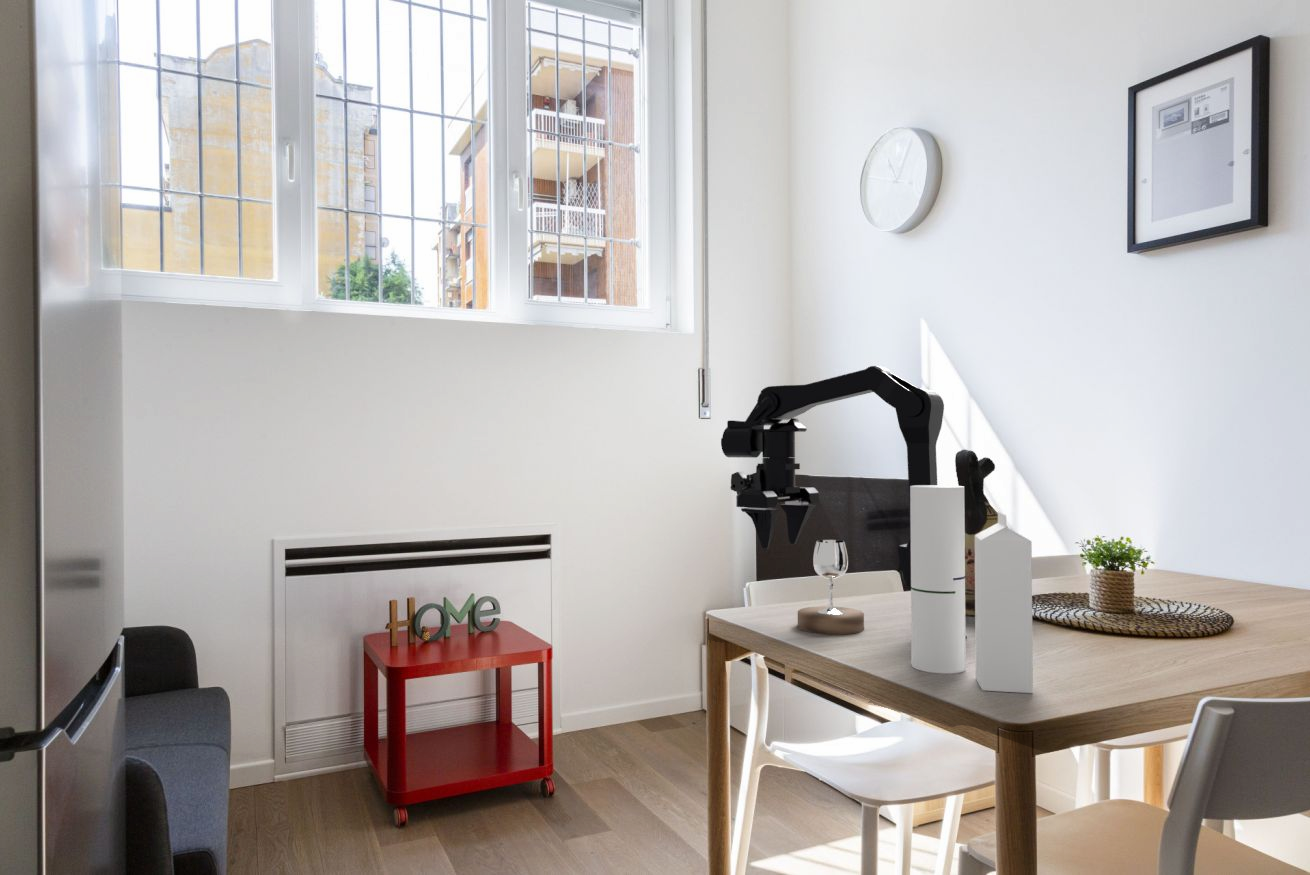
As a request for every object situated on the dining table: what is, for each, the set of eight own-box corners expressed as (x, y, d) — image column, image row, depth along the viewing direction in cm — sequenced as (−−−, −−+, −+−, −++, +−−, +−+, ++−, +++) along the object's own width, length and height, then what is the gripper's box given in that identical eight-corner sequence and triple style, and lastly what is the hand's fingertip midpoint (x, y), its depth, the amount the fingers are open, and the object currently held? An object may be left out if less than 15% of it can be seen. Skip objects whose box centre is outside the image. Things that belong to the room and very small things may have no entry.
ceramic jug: (954, 601, 168) (952, 449, 168) (1036, 611, 158) (1034, 449, 158) (917, 614, 155) (916, 449, 155) (1004, 626, 145) (1003, 449, 145)
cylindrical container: (977, 669, 117) (975, 486, 117) (940, 676, 113) (939, 488, 114) (936, 658, 123) (935, 484, 124) (900, 664, 120) (899, 486, 120)
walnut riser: (875, 626, 145) (875, 611, 145) (845, 637, 137) (845, 621, 137) (817, 618, 152) (817, 604, 152) (785, 628, 144) (785, 613, 144)
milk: (1023, 681, 111) (1023, 511, 111) (1033, 694, 105) (1033, 515, 106) (974, 678, 113) (974, 510, 113) (980, 691, 107) (980, 514, 107)
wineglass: (851, 615, 142) (851, 543, 142) (816, 615, 142) (816, 543, 142) (844, 608, 147) (843, 539, 147) (811, 609, 147) (810, 539, 147)
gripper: (768, 457, 163) (768, 538, 163) (710, 458, 149) (711, 547, 149) (820, 457, 156) (820, 542, 156) (765, 458, 142) (765, 552, 142)
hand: (779, 546), depth 151 cm, fingers open, 9 cm apart
